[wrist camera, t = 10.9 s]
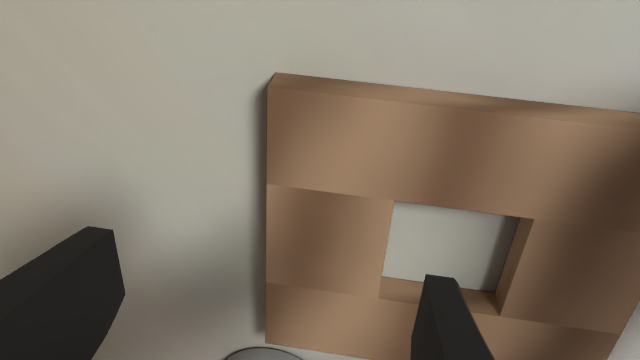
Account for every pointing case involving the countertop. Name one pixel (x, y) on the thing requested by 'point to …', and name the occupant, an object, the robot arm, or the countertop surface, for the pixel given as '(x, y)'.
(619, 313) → the pocket tray
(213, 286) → the countertop surface
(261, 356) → the travel mug
